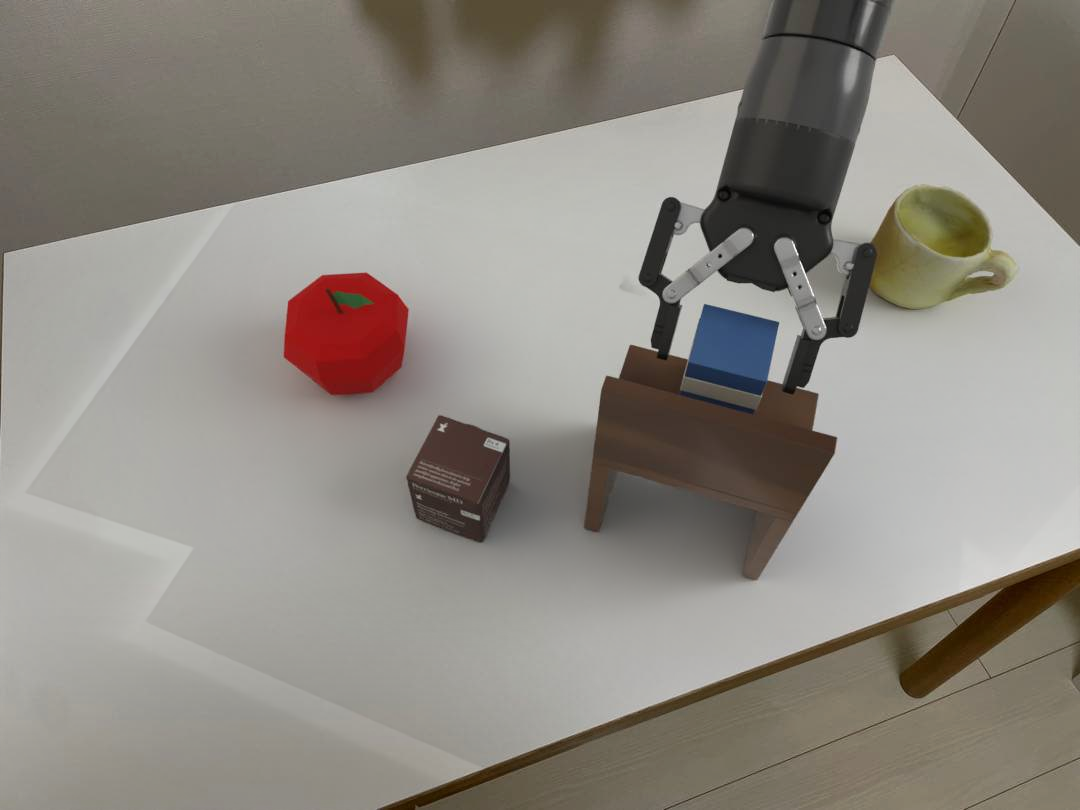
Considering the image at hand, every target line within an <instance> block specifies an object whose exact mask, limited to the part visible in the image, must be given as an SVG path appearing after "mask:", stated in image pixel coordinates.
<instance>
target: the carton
mask: <svg viewBox="0 0 1080 810" xmlns="http://www.w3.org/2000/svg"><path fill="white" fill-rule="evenodd" d="M779 326H780V322H779V321H778V320H773V319H768V318H764V317H761V316H756V315H752V314H748V313H745V312H740V311H736V310H733V309H732V310H731V309H729V308H728V309H727V308H723V307H720V306H716V305H711V304H706V303H703V306H702V309H701V313H700V317H699V319H698V322H697V325H696V329H695V333H694V336H693V340H692V344H691V346H690V351H689V354H688V358H687V359H688V362H687V365H686V369H685V373H684V376H683V380H682V384H681V388H680V390H681V391H680V394H679V395H682V396H686V397H690V398H693V399H697V400H701V401H704V402H708V403H712V404H716V405H719V406H723V407H727V408H731V409H734V410H738V411H742V412H745V413H749V414H754V412H755V410H756V409H757V407H758V405H759V402H760V400H761V397H762V393H763V390H764V388H765V385H766V383H767V380H769V375H770V370H771V364H772V359H773V356H774V355H773V354H774V351H775V346H776V345H775V344H776V340H777V335H778V330H779Z"/></svg>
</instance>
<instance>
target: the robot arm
mask: <svg viewBox="0 0 1080 810" xmlns="http://www.w3.org/2000/svg"><path fill="white" fill-rule="evenodd" d="M895 1H896V0H771V4H770V6H769V11H768V15H767V18H766V22H765V25H764V29H763V32H762V36H761V41H760V43H759V47H758V50H757V53H756V54H755V58H754V60H753V62H752V65H751V66H750V69H749V71H748V74H747V77H746V81H745V83H744V87H743V91H742V93H741V98H740V100H739V103H738V106H737V112H736V117H735V119H734V124H733V126H732V130H731V135H730V138H729V142H728V146H727V149H726V153H725V156H724V160H723V165H722V168H721V171H720V175H719V179H718V182H717V186H716V190H715V194H714V196H713V198H712V200H711V202H710V203H709V204H708V205H707V206H706V208H700V207H699V206H698V207H697V206H695V205H691V204H688V203H685V202H682V201H680V200H679V199H678V198H676V197H674V196H669V197H668V196H667V197H666V198H665V199H664V200H663V201H662V203H661V205H660V208H659V210H658V211H659V212H658V215H657V218H656V221H655V223H654V226H653V230H652V234H651V237H650V239H649V243H648V246H647V249H646V252H645V255H644V258H643V261H642V265H641V268H640V271H639V273H638V282H639V284H640V285H641V286H642V287H644V288H646V289H647V290H649V291H651V292H652V293H654V294H655V296H657V297H658V300H659V307H658V310H657V314H656V317H655V322H654V325H653V329H652V333H651V336H650V346H651V349H653V350H654V349H655V350H657V351H658V354H657V358H658V359H662V360H666V361H667V359H668V356H669V355H670V353H671V348H672V344H673V341H674V338H675V334H676V331H677V327H678V324H679V319H680V315H681V311H682V309H683V304H681V301H682V299H683V298H684V297H685V296H686V295H688V294H689V293H690V292H692V291H693V290H695V288H696V287H698V286H699V285H701V284H702V283H704V282H705V281H706V280H707V279H708V278H710V277H711V276H712V275H713V274H715V273H718V274H719V276H721V277H722V278H723V279H725V280H726V281H727V282H731V283H734V284H735V283H736V284H752V285H754V286H756V287H757V288H759V289H761V290H764V291H768V292H772V293H775V292H781V291H784V290H786V289H787V292H788V294H789V297H790V300H791V302H792V304H793V307H794V309H795V311H796V313H797V314H796V315H797V316H798V318H799V321H800V323H801V326H802V331H801V334H800V335H799V334H797V336H796V338H795V341H794V345H793V347H792V352H791V355H790V357H789V361H788V365H787V368H786V371H785V374H784V378H783V381H782V383H781V384H782V391H783V392H785V393H788V394H792V395H794V393H795V390H796V388H800V389H805V388H806V387H807V385H808V384H809V383H810V380H811V377H812V374H813V371H814V367H815V364H816V361H817V358H818V354H819V352H820V349H821V346H822V344H823V343H824V342H825V341H826V340H830V339H835V338H836V339H837V338H838V339H839V338H846V339H850V338H853V337H854V336H856V335H857V333H858V332H859V327H860V324H861V320H862V317H863V312H864V307H865V304H866V301H867V296H868V292H869V288H870V286H869V285H870V281H871V277H872V273H873V269H874V265H875V261H876V257H877V248H876V247H875V246H874V245H873V244H871V242H860V243H858V242H851V241H845V240H839V239H834V237H833V231H832V224H833V219H834V216H835V213H836V209H837V206H838V203H839V200H840V196H841V194H842V190H843V187H844V183H845V181H846V177H847V174H848V170H849V166H850V164H851V161H852V157H853V154H854V150H855V148H856V143H857V140H858V137H859V134H860V132H861V127H862V124H863V121H864V118H865V115H866V112H867V108H868V104H869V100H870V95H871V89H872V81H873V77H874V72H875V68H876V62H877V61H878V57H879V54H880V50H881V47H882V44H883V41H884V37H885V34H886V31H887V27H888V25H889V21H890V17H891V14H892V11H893V8H894V4H895ZM695 224H699V226H700V230H701V233H702V235H703V237H704V240H705V243H706V245H707V246H706V247H707V249H708V251H709V252H708V253H707V254H705V255H704V256H703V257H702V258H700V259H699V260H698V261H697V262H696V263H694V264H693V265H692V266H690V267H689V268H688V269H687V270H686V271H684V272H683V273H682V274H680V275H679V276H678V277H676V279H674V280H672V279H670V278H668V276H666V275H664V274H663V270H664V266H665V263H666V260H667V257H668V255H669V251H670V248H671V245H672V241H673V239H674V235H676V236H682V235H685V234H686V233H687V232H688V230H689V228H690V227H691V226H693V225H695ZM830 255H831V256H833V257H834V258H835V260H836V269H837V272H838V273H839V274H840V275H842V276H845V277H844V281H843V285H842V288H841V292H840V297H839V302H838V305H837V309H836V313H835V316H832V317H823V316H822V313H821V311H820V308H819V306H818V304H817V299H816V296H815V294H814V291H813V289H812V287H811V284H810V282H809V279H808V276H807V274H808V273H809V272H811V270H813V269H814V268H815V267H817V266H819V264H821V263H822V262H823V261H824V260H825V259H827V258H828V257H829V256H830ZM709 264H710V265H709Z"/></svg>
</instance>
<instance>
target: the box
mask: <svg viewBox="0 0 1080 810" xmlns="http://www.w3.org/2000/svg"><path fill="white" fill-rule="evenodd" d="M510 443H511V441H510V438H508V437H505V436H502V435H499V434H496V433H494V432H490V431H487V430H484V429H482V428H480V427H478V426H476V425H473V424H470V423H464V422H461V421H459V420H456V419H453V418H450V417H447V416H444V415H441V414H438V415H437V417H436V419H435V421H434V422H433V425H432V427H431V428H430V431H429V432H428V434H427V436H426V438H425V440H424V442H423V444H422V445H421V447H420V449H419V451H418V453H417V455H416V456H415V458H414V460H413V462H412V464H411V466H410V468H409V469H408V472H407V473H406V475H405V479H406V481H407V488H408V490H409V494H410V499H411V503H412V507H413V512H414V515H415V519H416V520H419V521H421V522H423V523H425V524H428V525H430V526H434V527H436V528H439V529H441V530H443V531H446V532H449V533H452V534H454V535H457V536H459V537H463V538H464V539H468V540H471V541H474V542H475V543H476V542H477V543H478V544H479V543H482V544H483V542H484V541H485V539H486V537H487V535H488V533H489V530H490V528H491V525H492V523H493V521H494V519H495V517H496V514H497V512H498V510H499V508H500V506H501V503H502V501H503V499H504V497H505V494H506V492H507V491H508V488H509V485H510V483H511V461H510V459H511V458H510V457H511V456H510V455H511V454H510V451H511V450H510V449H511V448H510V446H511V445H510Z"/></svg>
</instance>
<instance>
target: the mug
mask: <svg viewBox="0 0 1080 810" xmlns="http://www.w3.org/2000/svg"><path fill="white" fill-rule="evenodd" d="M993 232H994V231H993V227H992V224H991V221H990V218H989V217H988V215H987V214H986V212H984V210H983V209H982V208H981V207H980V206H979V205H978V204H977V203H976V202H975V201H974V200H973V199H971V198H970V197H968V196H967V195H965V194H964V193H962V192H961V191H959V190H955V189H953V188H951V187H949V186H935V185H931V184H915V185H913V186H911V187H909V188H906V189H905V190H904V191H902V192H901V193H900V195H899V196H897V198H896V199H895V200H894V202H892V204H891V206H890V207H889V208H888V210H887V213H886V214H885V216H884V218H883V220H882V221H881V224H880V226H879V227H878V229H877V231H876V233H875V235H874V236H873V237H872V240H871V241H870V243H871V244H873V245H874V246H875V247H876V248H877V257H876V261H875V265H874V269H873V273H872V277H871V281H870V285H869V288H870V290H871V291H873V293H874V294H875V295H877V296H879V297H881V298H882V299H884V301H885V300H886V301H888V302H890V303H891V304H894V305H896V306H898V307H901V308H906V309H909V310H910V309H911V310H919V309H920V310H921V309H928V308H932V307H936V306H937V305H939V304H942V303H946V302H950V301H953V300H956V299H958V298H960V297H962V296H966V295H975V294H983V293H987V292H991V291H993V292H994V291H998V290H1001V289H1003V288H1005V287H1006V286H1007V285H1009V284H1010V283H1011V282H1013V281H1014V279H1015V278H1016V276H1017V275H1018V271H1019V266H1018V262H1017V261H1016V260H1015V259H1014V258H1013V257H1012V256H1011V255H1010V254H1009V253H1007V252H1005V251H1002V250H997V249H995V250H994V249H992V242H993V239H994V233H993ZM979 272H988V273H992V275H980V276H974V277H969V276H971V275H973V274H975V273H979Z"/></svg>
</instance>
